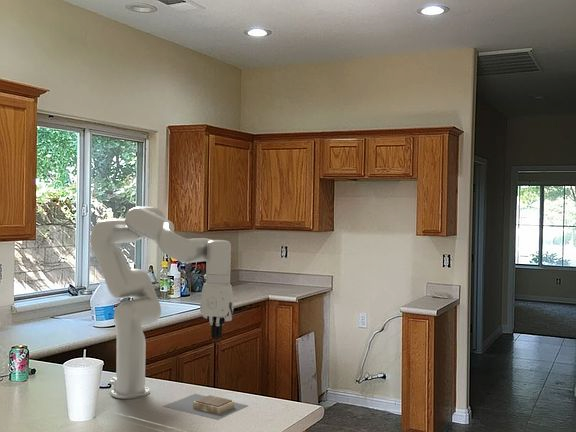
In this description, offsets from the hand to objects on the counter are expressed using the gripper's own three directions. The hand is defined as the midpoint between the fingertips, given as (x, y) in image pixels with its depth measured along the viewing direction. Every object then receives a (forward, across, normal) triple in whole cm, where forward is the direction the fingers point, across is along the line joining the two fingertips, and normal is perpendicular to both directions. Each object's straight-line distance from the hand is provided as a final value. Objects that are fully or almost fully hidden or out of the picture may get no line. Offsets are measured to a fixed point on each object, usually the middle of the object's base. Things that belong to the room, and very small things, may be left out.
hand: (216, 337), depth 197 cm
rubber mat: (+23, -4, 0) cm, 23 cm away
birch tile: (+21, -5, 0) cm, 22 cm away
